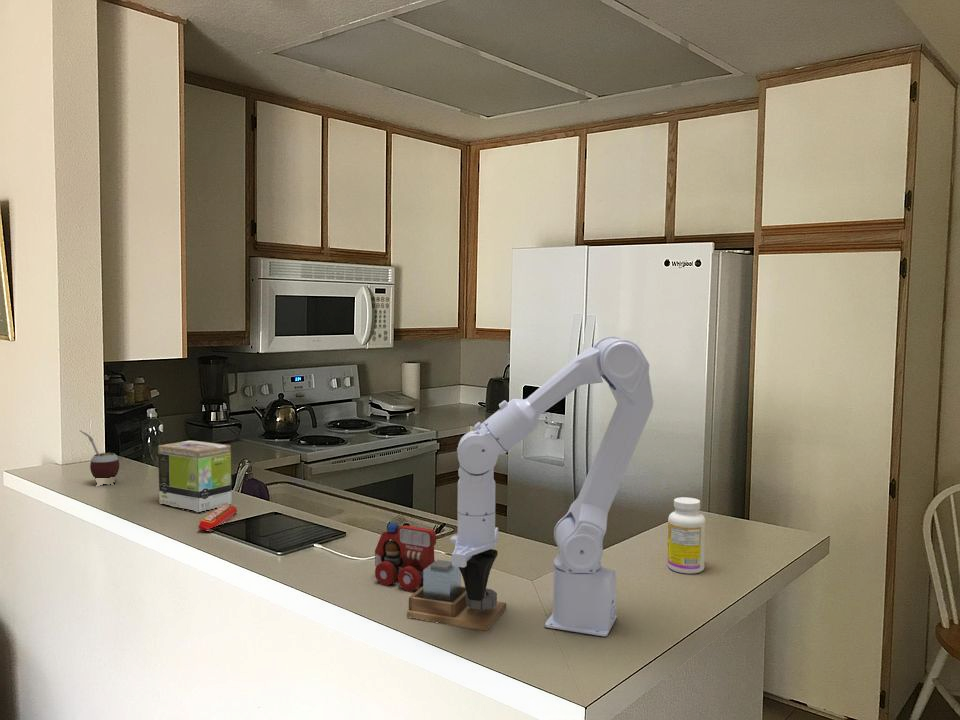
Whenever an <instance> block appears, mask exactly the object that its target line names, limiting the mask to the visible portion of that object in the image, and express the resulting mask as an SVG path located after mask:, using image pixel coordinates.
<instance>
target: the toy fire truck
mask: <svg viewBox="0 0 960 720" xmlns="http://www.w3.org/2000/svg"><path fill="white" fill-rule="evenodd" d="M386 529H387V530H385V531H383V532H381V535H380V537H379V540H378V542H377V545H376V548H375V549H374V565H375V570H374V575H375V578H376V580H377V582H379V584H381V585H383V586H390V585H391V584H393V583H394V582H395V581H396V580H397V581H398V582H397V583H398V584H399V586H400V587H401V588H402V589H403V590H405V592H412V591H414V590H416V589H418V588H419V586H420V585H421V582H422V581H423V570H424V569H425V568H427V567H428V566H429V565H431V564H432V563H433V562H435V561H436V560H435V546H436V545H437V534H436V533H437V532H436V531H435V530H434V529H430V528H423V527H419V526H418V527H417V526H411V525H406V524H404V525H402V526H399V524H398V523H397V522H395V521H392V522H389V523H388V524H387V528H386Z"/></svg>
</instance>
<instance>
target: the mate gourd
mask: <svg viewBox="0 0 960 720" xmlns="http://www.w3.org/2000/svg"><path fill="white" fill-rule="evenodd" d="M79 432H80V433H82V434H83V435H84V436H86V437H87V438H88V440H89V442H90V443H91V445H92V448H93V450H94V452H95V454H94V455H93V456H92V458H91V460H90V465H89V467H90V472H91V475H92V477H93V478H94V477H95V478H110V477H115V476H116V477H117V475H118V473H119V470H120V460H119V457H118V455H117V454H116V453H115V452H114V453H113V452H102V453H101V452H100V453H99V451H98V448H97V446H96V444H95V442H94V439H93V436H91V435H90V434H88V433H86V432H85V431H83V430H79ZM116 477H115V478H116ZM95 478H94V479H95Z"/></svg>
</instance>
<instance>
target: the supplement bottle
mask: <svg viewBox="0 0 960 720" xmlns="http://www.w3.org/2000/svg"><path fill="white" fill-rule="evenodd" d="M673 506H674V511H672V512H671V513H670V514H669V515H668V518H667V519H668V520H667V566H668V568H669V569H670V570H672V571H674V572H677V573H682V574H688V575H689V574H690V575H691V574H697V573H702V572H703V570H704V569H705V567H706V566H705V565H706V563H705V562H706V560H705V559H706V518H705V516H704V515H703V514H702V513H700V509H701V500H700V499H698V498H694V497H686V496H684V497H683V496H681V497H676V498H674V499H673Z"/></svg>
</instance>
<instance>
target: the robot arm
mask: <svg viewBox="0 0 960 720" xmlns="http://www.w3.org/2000/svg"><path fill="white" fill-rule="evenodd" d="M603 380H604V381H605V382H606V383H607V385H608V387H609V388H610V391H611V393H612V396H613V397H614V400H615V402H616V406H615V408H614V411H613V413H612V416H611V418H610V420H609V423H608V425H607V428H606V430H605V432H604V434H603V436H602V439H601V442H600V443H599V445H598V446H599V447H598V449H597V451H596V453H595V456H594V458H593V461H592V463H591V465H590V467H589V471H587V472H588V473H587V474H586V477H585V479H584V482H583V484H582V487H581V489H580V492H579V494H578V496H577V497H576V499H575V500H574V501H573V502H572V503H571V504H570V506H569V509H568V511H567V512H566V514H565V515H564V516H562V517H561V518H560V519H559V520H558V522H557V523H556V524H555V526H554V529H553V538H554V539H553V540H554V542H555V544H556V546H557V548H558V549H559V550H558V552H557V555H556V557H554V559H553V577H552V578H553V584H552V586H553V587H552V588H553V589H552V613H551V615H550V616H549V617H548V619H547V620H546V621H545V623H544V627H545V628H548V629H549V628H550V629H554V630H555V629H556V630H561V631H568V632H575V633H580V634H587V635H592V636H593V635H594V636H597V637H599V636H601V637H607V636H608V635H609V633H610V631H611V629H612V627H613V625H614V623H615V621H616V620H617V617H618V616H617V572H616V570H615V569H611V568H607V567H605V566H603V565H602V561H601V560H602V558H603V552H604V548H603V540H604V536H605V534H606V533H607V525H608V514H609V511H610V509H611V507H612V504H613V502H614V499H615V498H616V495H617V494H618V490H619V488H620V485H621V483H622V481H623V478H624V476H625V473H626V472H627V468H628V466H629V464H630V462H631V460H632V457H633V454H634V453H635V450H636V449H637V448H636V447H637V446H638V443H639V440H640V438H641V436H642V434H643V431H644V429H645V426H646V424H647V422H648V420H649V417H650V415H651V413H652V410H653V406H654V398H653V391H652V383H651V378H650V363H649V361H648V360H647V358H646V356H645V355H644V352H643V351H642V349H641V348H640V346H639V345H638V344H637V343H635V342H634V341H632V340H629V339H624V338H619V337H617V336H607V337H603V338H602V339H600V340H598V341H597V342H596V343H595V345H594V346H590V347H589V348H586V349H585V350H583V351H582V352H580V353H579V354H578V355H577V356H575V357H573V358H572V359H571V360H570V361H568V363H566V364H565V365H564V366H563V367H562V368H560V369H559V370H558V371H557V372H556V373H554V374H553V375H552V376H551V377H550V378H549V379H548V380H546V381H545V382H544V383H543V384H542V385H540V387H538V388H537V389H536V390H535V391H534V392H532V393H531V394H530V395H528V397H526V398H524V399H522V398H512V399H511V400H509V401H508V402H507V400H502V402H500V403H499V404H498V406H499V407H498V408H499V409H497V410H496V411H495V412H494V413H493V414H492V415H490V416H489V417H488V418H487V419H485V420H484V421H483V422H482V423H481V422H480V421H478V422H477V423H476V424H474V425H473V427H474V428H475V430H474V431H473V430H471V431H468V432H466V433H465V434H464V435H463V436H462V437H461V438H460V440H459V441H458V446H457V447H456V452H457V461H458V462H459V468H458V470H457V471H458V472H457V473H458V477H459V479H458V481H457V535H456V534H455V535H452V536H451V537H450V538H449V540H450V543H452V544H455V546H454V551H453V552H452V553H451V562H452V566H456V567H459V569H460V571H461V576H462V579H463V583H464V586H465V588H466V592H467V596H468V599H470V600H476V601H481V600H482V599H483V598H484V595H485V591H486V588H487V586H488V581H489V575H490V573H491V570H492V567H493V565H494V562H495V560H496V559H497V556H498V553H499V552H498V550H496V549H493V548H495V547H496V546H497V541H498V540H499V527H496V480H495V478H494V473H495V472H494V471H495V470H494V468H495V466H496V465H497V462H498V457H499V456H500V455H505V454H506V453H508V452H509V451H510V450H512V449H513V448H514V447H516V446H517V445H518V444H519V443H520V442H521V441H523V440H524V439H525V438H527V437H528V436H529V435H530V434H532V433H533V432H534V431H536V430H537V429H538V423H539V422H538V421H539V417H540V416H541V415H543V414H544V412H546V411H547V410H549V409H550V408H551V407H553V406H555V404H557V403H559V402H560V401H561V400H563V399H564V398H566V397H567V396H568V395H569V394H571V393H572V392H574V391H575V390H577V389H578V388H579V387H580V386H582V385H593V384H602V383H603V382H604V381H603Z"/></svg>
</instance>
